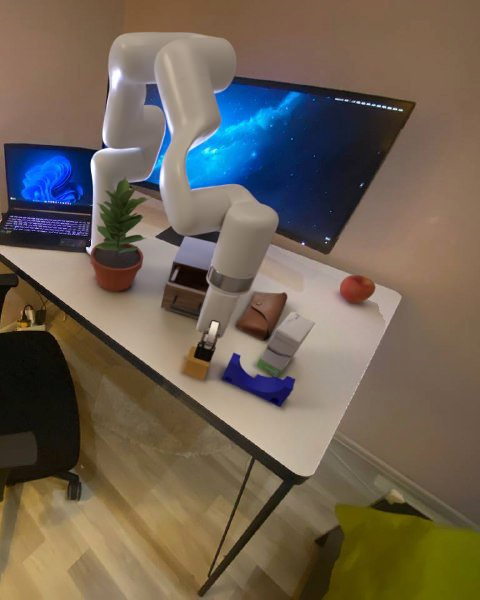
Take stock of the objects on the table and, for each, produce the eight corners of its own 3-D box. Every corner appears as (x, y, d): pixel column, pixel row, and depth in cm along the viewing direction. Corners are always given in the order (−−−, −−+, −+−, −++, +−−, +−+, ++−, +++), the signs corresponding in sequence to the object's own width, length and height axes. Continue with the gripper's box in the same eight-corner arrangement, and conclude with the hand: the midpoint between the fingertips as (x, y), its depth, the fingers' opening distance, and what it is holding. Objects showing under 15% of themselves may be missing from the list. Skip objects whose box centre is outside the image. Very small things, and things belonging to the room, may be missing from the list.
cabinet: (215, 303, 94) (226, 275, 87) (166, 289, 98) (173, 261, 92) (223, 274, 104) (233, 247, 97) (178, 262, 108) (185, 235, 102)
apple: (368, 300, 96) (385, 277, 90) (359, 312, 92) (376, 288, 87) (339, 287, 100) (354, 264, 95) (329, 298, 96) (344, 275, 91)
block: (186, 358, 79) (191, 345, 76) (206, 365, 78) (212, 352, 75) (182, 372, 76) (187, 359, 73) (203, 380, 75) (208, 367, 72)
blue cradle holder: (284, 391, 73) (296, 373, 69) (280, 407, 70) (292, 389, 66) (227, 365, 78) (235, 347, 74) (221, 379, 75) (229, 361, 71)
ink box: (277, 378, 75) (300, 342, 68) (255, 365, 78) (275, 329, 70) (292, 357, 80) (316, 321, 72) (271, 346, 82) (292, 309, 75)
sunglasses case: (253, 289, 97) (273, 278, 92) (270, 307, 97) (292, 297, 92) (233, 326, 86) (255, 315, 81) (252, 347, 86) (276, 337, 81)
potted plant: (109, 259, 109) (118, 162, 89) (149, 280, 101) (168, 179, 81) (76, 279, 101) (77, 178, 81) (116, 304, 93) (128, 198, 73)
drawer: (205, 334, 84) (214, 311, 78) (155, 319, 87) (160, 295, 82) (216, 291, 96) (225, 268, 91) (172, 279, 100) (178, 256, 95)
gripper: (216, 245, 67) (195, 311, 78) (199, 298, 55) (178, 366, 66) (257, 255, 64) (230, 321, 76) (249, 311, 53) (218, 380, 64)
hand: (206, 342), depth 71 cm, fingers open, 9 cm apart
